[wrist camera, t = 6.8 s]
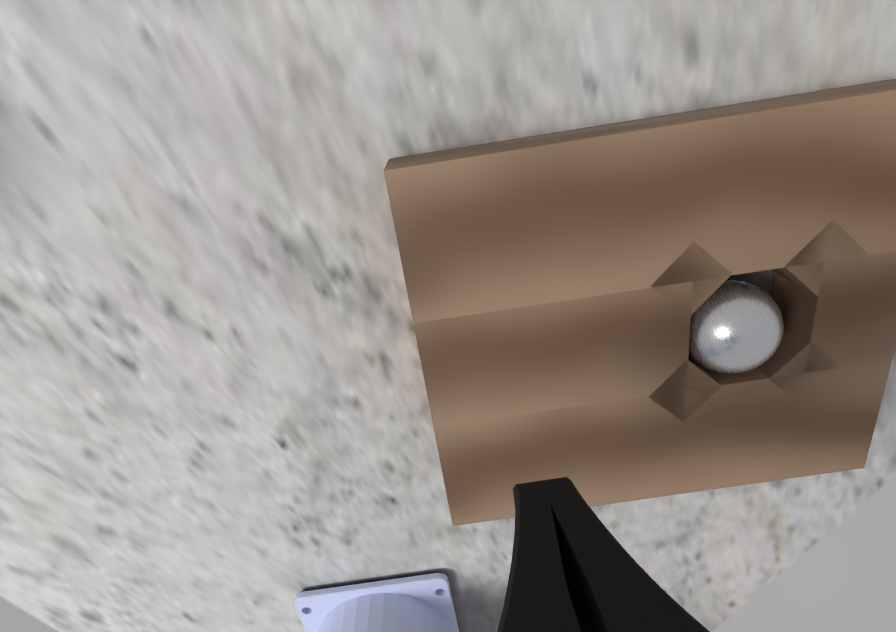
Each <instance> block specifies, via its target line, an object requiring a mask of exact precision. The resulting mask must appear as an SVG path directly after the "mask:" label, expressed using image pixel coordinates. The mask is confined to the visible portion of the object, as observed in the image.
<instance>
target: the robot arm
mask: <svg viewBox="0 0 896 632" xmlns="http://www.w3.org/2000/svg"><path fill="white" fill-rule="evenodd" d="M513 496H514V504H515V535H514V545H513V555H512V563H511V569H510V575H509V581H508V587H507V592H506V597H505V602H504V607H503V611H502V616H501V620H500V624H499V628H498V632H710V631H708V630H707V629H706V628H705V627H704V626H703V625H701V624H700V623H699V622H698V621H697V620H696V619H695V618H693V617H692V616H691V615H690V614H689V613H688V612H686V611H685V610H684V609H683V608H682V607H681V606H680V605H679V604H678V603H677V602H676V601H675V600H673V599H672V598H671V597H670V596H669V595H668V594H667V593H666V592H665V591H664V590H663V589H662V588H661V587H660V586H659V585H658V584H657V583H656V582H655V581H654V580H653V579H652V578H651V577H650V576H649V575H648V574H647V573H646V572H645V571H644V570H643V569H642V568H641V567H640V566H639V565H638V564H637V563H636V562H635V561H634V559H633V558H632V557H631V556H630V555H629V554H628V553H627V552H626V551H625V549H624V548H623V547H622V546H621V545H620V544H619V543H618V541H617V540H616V539H615V538H614V537H613V536H612V534H611V533H610V532H609V531H608V530H607V529H606V527H605V526H604V525H603V524H602V522H601V521H600V520H599V519H598V517H597V516H596V515H595V513H594V512H593V511H592V510H591V508H590V507H589V506H588V504H587V503H586V501H585V500H584V499H583V497H582V496H581V494H580V493H579V492H578V490H577V489H576V487H575V486H574V484H573V482H572V481H571V480H570V479H569V478H567V477H562V478H555V479H548V480H541V481H535V482H528V483H521V484H516V485H515V486H514V487H513ZM295 606H296V609H297V611H298V614H299V616H300V619H301V621H302V623H303V626H304V628H305V631H306V632H459V628H458V623H457V619H456V614H455V609H454V604H453V600H452V595H451V590H450V586H449V581H448V578H447V576H446V575H445V574H442V573H433V574H426V575H419V576H411V577H404V578H397V579H390V580H383V581H375V582H368V583H361V584H354V585H347V586H340V587H332V588H325V589H318V590H311V591H304V592H300V593H299V594H297V596H296V599H295Z"/></svg>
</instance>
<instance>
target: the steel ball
mask: <svg viewBox="0 0 896 632" xmlns="http://www.w3.org/2000/svg"><path fill="white" fill-rule="evenodd" d="M783 328H784V325H783V318H782V314H781V311H780V309H779V307H778V305H777V304H776V302H775V301H774V300H773V298H772V297H771V296H770V295H768V294H767V293H766V292H765V291H763V290H762V289H760V288H759V287H757V286H755V285H752V284H750V283H747V282H743V281H737V280H726V281H725V282H724V283H723V284H722V285H721V286H720V287H719V288H718V289H717V290H716V291H715V292H714V293H713V294H712V295H711V296H710V297H709V298H708V299H707V300H706V301H705V302H704V303H703V304H702V305H701V306H700V307H699V308H698V309H697V310H696V311H695V312H694V313H693V314H692V315H691V321H690V338H689V356H690V357H691V358H692V359H693V360H695V361H696V362H697V363H699V364H700V365H702V366H704V367H706V368H708V369H710V370H713V371H717V372H722V373H740V372H745V371H749V370H752V369H754V368H756V367H758V366H760V365H762V364H763V363H765V362H766V361H767V360H768V359H769V358H770V357H771V356H772V355H773V354H774V353H775V352H776V350H777V349H778V347H779V345H780V343H781V340H782V336H783Z"/></svg>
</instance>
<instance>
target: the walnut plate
mask: <svg viewBox="0 0 896 632" xmlns="http://www.w3.org/2000/svg"><path fill="white" fill-rule="evenodd" d="M384 174H385V179H386V184H387V189H388V195H389V200H390V205H391V210H392V215H393V220H394V225H395V231H396V236H397V241H398V246H399V251H400V256H401V261H402V267H403V272H404V277H405V282H406V287H407V292H408V297H409V303H410V308H411V313H412V318H413V323H414V328H415V333H416V339H417V344H418V349H419V354H420V359H421V364H422V369H423V375H424V380H425V385H426V390H427V395H428V400H429V405H430V411H431V416H432V421H433V426H434V431H435V436H436V441H437V447H438V452H439V457H440V462H441V467H442V472H443V477H444V483H445V488H446V493H447V498H448V503H449V508H450V513H451V519H452V524H453V526H456V525H463V524H470V523H477V522H485V521H492V520H499V519H506V518H513V517H515V504H514V496H513V487H514V486H515V485H516V484H521V483H528V482H535V481H541V480H548V479H555V478H562V477H567V478H569V479H570V480H571V481H572V482H573V484H574V486H575V487H576V489H577V490H578V492H579V493H580V494H581V496H582V497H583V499H584V500H585V501H586V503H587V504H588V506H589V507H591V506H598V505H605V504H612V503H619V502H626V501H633V500H640V499H647V498H654V497H661V496H669V495H676V494H683V493H690V492H697V491H704V490H711V489H718V488H725V487H732V486H739V485H746V484H754V483H761V482H768V481H775V480H782V479H789V478H796V477H803V476H810V475H817V474H824V473H831V472H838V471H846V470H853V469H860V468H864V467H865V463H866V459H867V455H868V451H869V447H870V443H871V439H872V435H873V432H874V428H875V424H876V420H877V416H878V412H879V408H880V404H881V400H882V396H883V392H884V388H885V384H886V380H887V376H888V372H889V368H890V364H891V360H892V356H893V352H894V348H895V344H896V79H892V80H886V81H880V82H873V83H867V84H861V85H854V86H848V87H842V88H835V89H829V90H823V91H816V92H810V93H804V94H797V95H791V96H785V97H778V98H772V99H766V100H760V101H753V102H747V103H741V104H734V105H728V106H722V107H715V108H709V109H703V110H696V111H690V112H684V113H677V114H671V115H665V116H659V117H652V118H646V119H640V120H633V121H627V122H621V123H614V124H608V125H602V126H595V127H589V128H583V129H576V130H570V131H564V132H557V133H551V134H545V135H539V136H532V137H526V138H520V139H513V140H507V141H501V142H494V143H488V144H482V145H475V146H469V147H463V148H456V149H450V150H444V151H438V152H431V153H425V154H419V155H412V156H406V157H400V158H393V159H389V160H388V162H387V165H386V167H385V169H384ZM765 270H772V271H773V272H774V279H773V287H772V295H771V297H772V298H773V300H774V301H775V302H776V304H777V305H778V307H779V309H780V311H781V314H782V318H783V325H784V328H783V336H782V340H781V343H780V345H779V347H778V349H777V350H776V352H775V353H774V354H773V355H772V356H771V357H770V358H769V359H768V360H767V361H766V362H765V363H763V364H762V365H760V366H758V367H756V368H754V369H752V370H749V371H745V372H740V373H722V372H717V371H713V370H710V369H708V368H706V367H704V366H702V365H700V364H699V363H697V362H696V361H695V360H693V359H692V358H691V357H690V356H689V338H690V321H691V315H692V314H693V313H694V312H695V311H696V310H697V309H698V308H699V307H700V306H701V305H702V304H703V303H704V302H705V301H706V300H707V299H708V298H709V297H710V296H711V295H712V294H713V293H714V292H715V291H716V290H717V289H718V288H719V287H720V286H721V285H722V284H723V283H724V282H725V281H726V280H727V279H728V278H729V277H730V276H731V275H738V274H745V273H751V272H758V271H765Z"/></svg>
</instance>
